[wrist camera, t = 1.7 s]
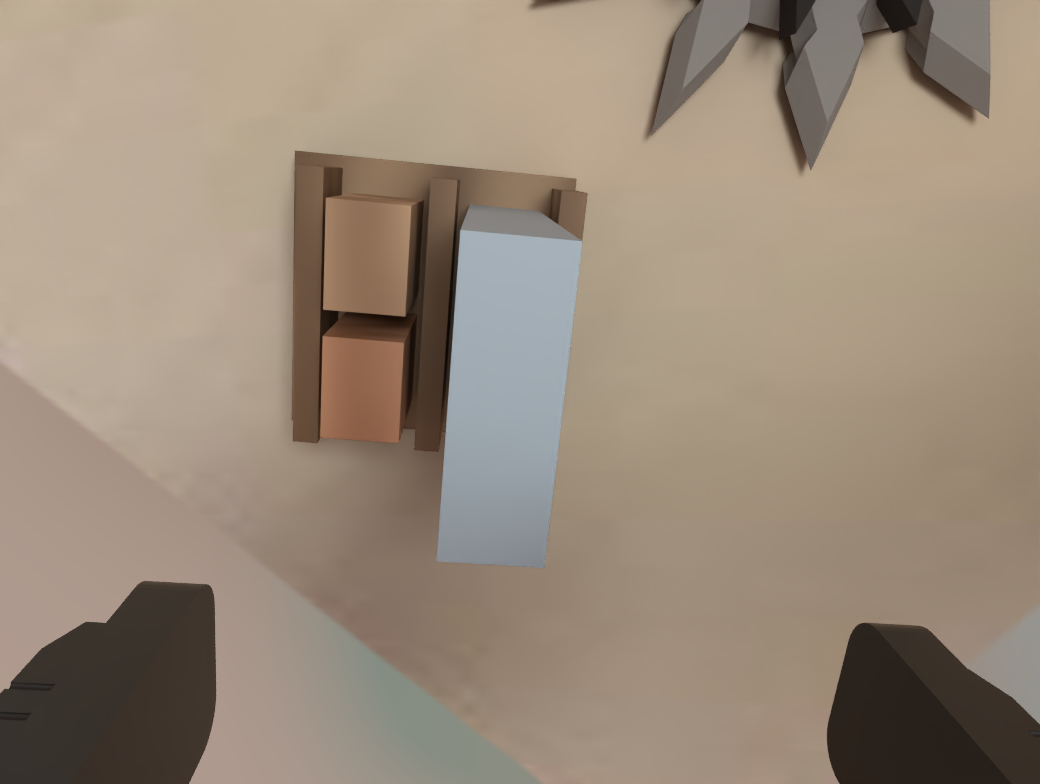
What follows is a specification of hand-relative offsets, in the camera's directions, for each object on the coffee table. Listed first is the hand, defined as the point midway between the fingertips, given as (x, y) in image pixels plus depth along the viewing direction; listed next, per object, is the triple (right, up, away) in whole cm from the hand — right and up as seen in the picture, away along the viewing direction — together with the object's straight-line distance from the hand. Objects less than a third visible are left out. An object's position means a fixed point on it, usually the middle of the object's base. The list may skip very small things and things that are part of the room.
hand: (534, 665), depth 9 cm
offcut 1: (-6, +10, +23) cm, 26 cm away
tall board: (-1, +7, +25) cm, 26 cm away
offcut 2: (-6, +5, +25) cm, 26 cm away
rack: (-4, +8, +26) cm, 27 cm away
